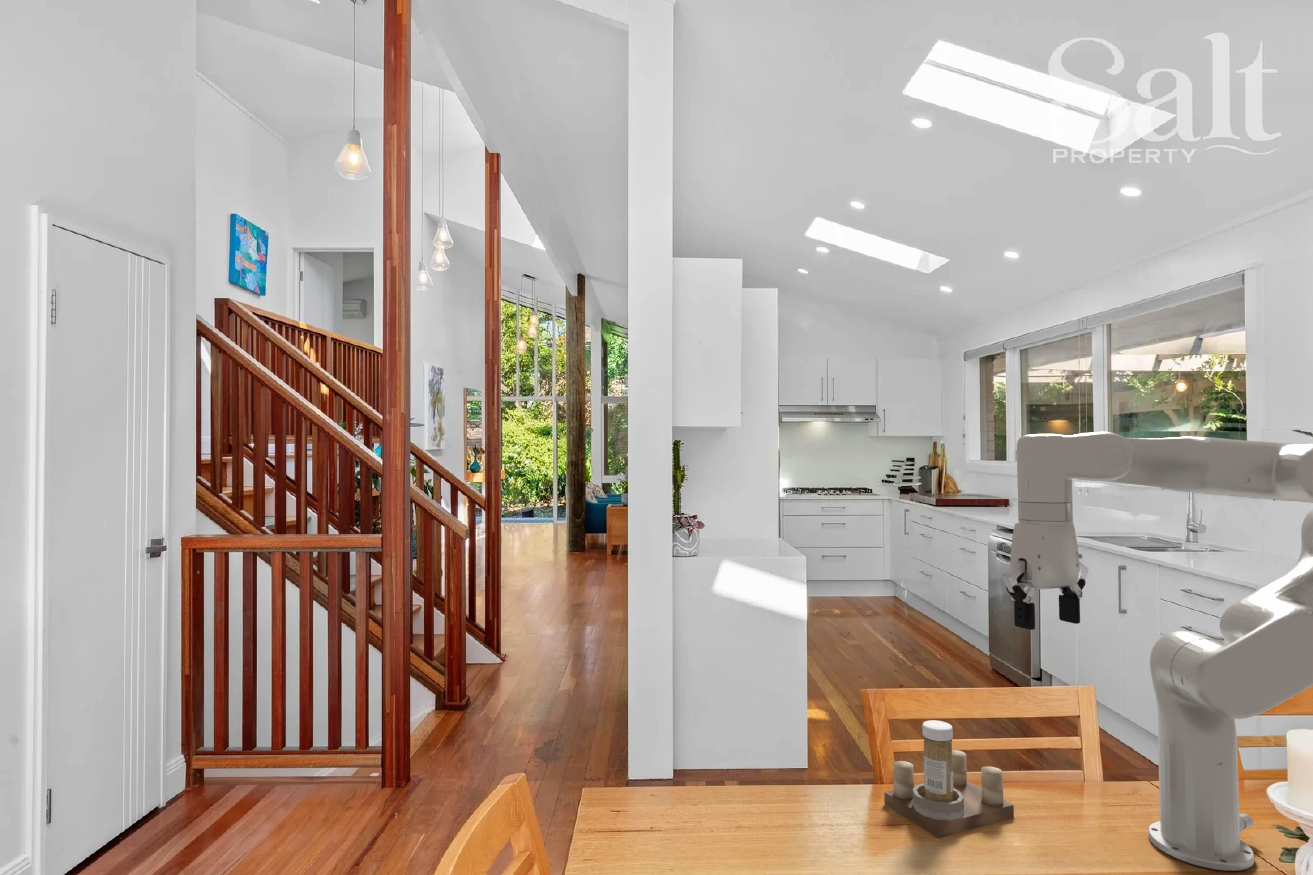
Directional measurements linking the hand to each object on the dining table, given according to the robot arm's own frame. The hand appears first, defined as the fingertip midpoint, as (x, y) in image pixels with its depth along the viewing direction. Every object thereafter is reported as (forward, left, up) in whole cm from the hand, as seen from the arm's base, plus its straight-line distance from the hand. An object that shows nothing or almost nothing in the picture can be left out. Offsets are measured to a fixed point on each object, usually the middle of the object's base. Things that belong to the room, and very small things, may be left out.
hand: (1047, 624), depth 113 cm
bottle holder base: (+8, -13, -32) cm, 36 cm away
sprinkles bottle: (+12, -11, -31) cm, 35 cm away
